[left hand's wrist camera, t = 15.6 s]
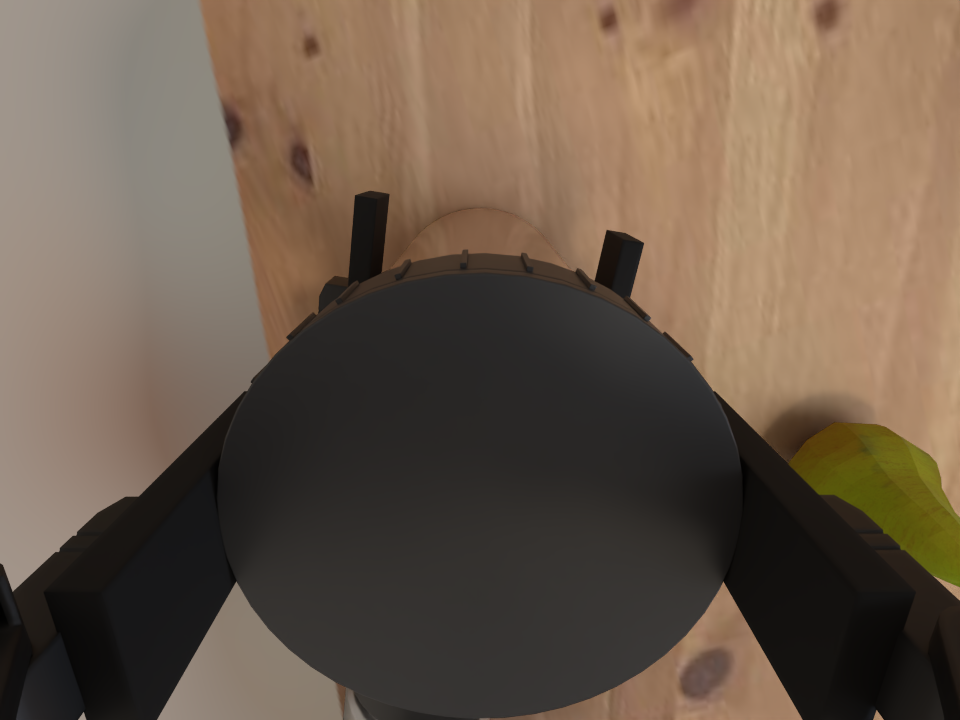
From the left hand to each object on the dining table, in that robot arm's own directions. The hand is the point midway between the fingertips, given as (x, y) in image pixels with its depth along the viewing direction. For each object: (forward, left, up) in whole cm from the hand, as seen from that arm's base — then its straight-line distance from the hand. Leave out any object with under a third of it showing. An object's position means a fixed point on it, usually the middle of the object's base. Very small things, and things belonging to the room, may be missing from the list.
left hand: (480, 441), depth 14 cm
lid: (0, 0, +3) cm, 3 cm away
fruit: (+6, +21, -15) cm, 26 cm away
